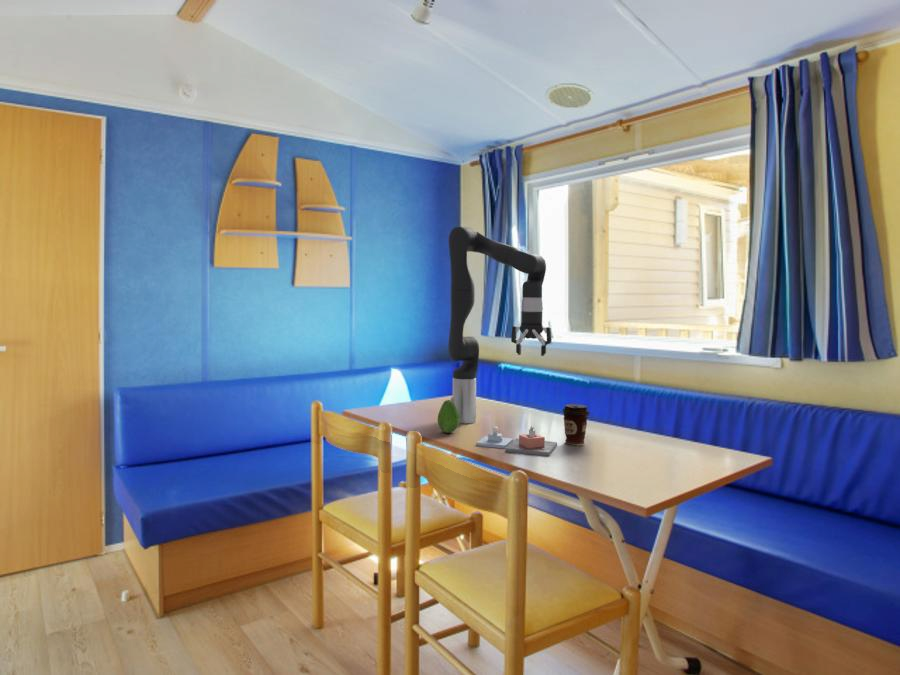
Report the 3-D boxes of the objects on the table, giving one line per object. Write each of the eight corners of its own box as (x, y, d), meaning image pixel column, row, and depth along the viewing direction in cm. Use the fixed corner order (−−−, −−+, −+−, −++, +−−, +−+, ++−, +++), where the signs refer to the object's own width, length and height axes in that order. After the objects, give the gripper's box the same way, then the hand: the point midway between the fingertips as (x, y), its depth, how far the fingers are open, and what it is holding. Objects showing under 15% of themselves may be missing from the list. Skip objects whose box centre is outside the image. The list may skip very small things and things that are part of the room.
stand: (476, 445, 203) (476, 429, 203) (485, 438, 213) (485, 423, 212) (505, 448, 200) (505, 431, 200) (513, 441, 209) (513, 425, 209)
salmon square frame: (528, 448, 196) (528, 438, 196) (518, 443, 201) (519, 434, 201) (544, 446, 198) (544, 437, 198) (534, 442, 204) (534, 433, 204)
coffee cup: (572, 447, 201) (573, 408, 200) (556, 442, 209) (557, 404, 208) (592, 445, 205) (593, 406, 204) (576, 439, 213) (577, 402, 212)
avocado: (442, 435, 217) (442, 402, 216) (434, 431, 224) (434, 398, 223) (463, 434, 220) (463, 400, 219) (454, 429, 227) (455, 397, 226)
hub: (505, 451, 196) (505, 429, 195) (516, 441, 209) (516, 420, 208) (548, 456, 191) (549, 433, 191) (557, 445, 204) (557, 424, 204)
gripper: (509, 310, 219) (509, 355, 220) (549, 311, 214) (548, 357, 215) (515, 309, 226) (514, 353, 227) (553, 310, 221) (552, 355, 223)
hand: (531, 355), depth 221 cm, fingers open, 8 cm apart
